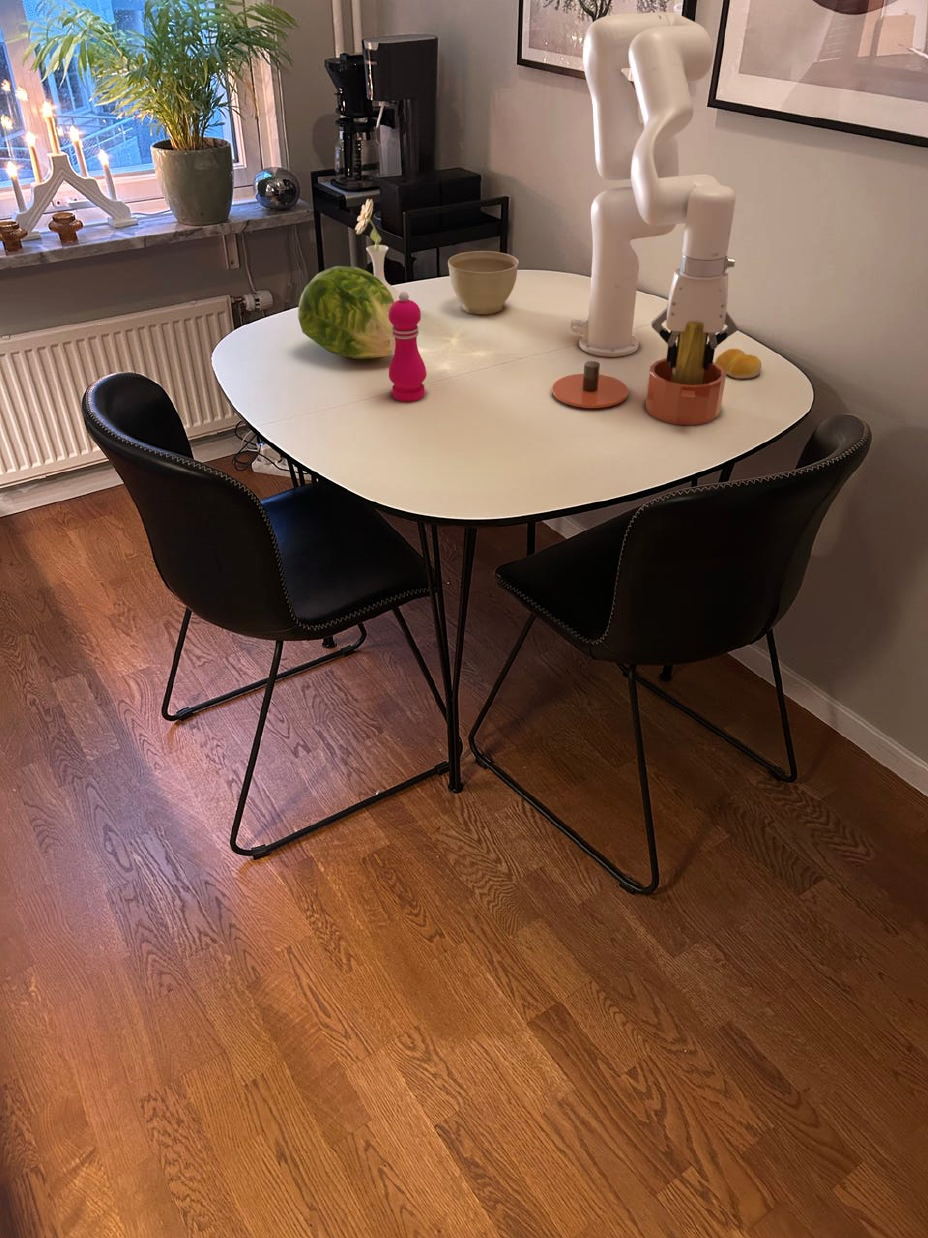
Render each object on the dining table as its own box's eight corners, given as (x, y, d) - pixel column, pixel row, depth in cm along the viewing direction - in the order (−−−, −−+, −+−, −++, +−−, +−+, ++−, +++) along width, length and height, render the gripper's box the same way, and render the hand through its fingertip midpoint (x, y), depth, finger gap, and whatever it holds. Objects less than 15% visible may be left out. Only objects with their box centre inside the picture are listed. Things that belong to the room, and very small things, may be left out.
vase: (681, 402, 170) (692, 326, 161) (661, 390, 174) (670, 315, 166) (708, 396, 172) (720, 319, 163) (687, 384, 176) (697, 309, 168)
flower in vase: (363, 299, 225) (354, 188, 209) (409, 300, 223) (404, 189, 208) (350, 318, 215) (340, 203, 199) (399, 320, 213) (392, 204, 198)
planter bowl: (518, 320, 212) (519, 271, 206) (448, 320, 213) (447, 272, 206) (516, 296, 225) (517, 249, 218) (449, 296, 225) (448, 250, 219)
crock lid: (548, 408, 176) (550, 377, 172) (555, 377, 187) (556, 347, 184) (626, 413, 174) (629, 381, 170) (628, 381, 185) (631, 351, 182)
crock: (645, 429, 169) (649, 390, 164) (646, 385, 184) (650, 349, 179) (721, 433, 167) (728, 394, 162) (716, 389, 182) (722, 352, 177)
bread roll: (744, 383, 184) (748, 364, 181) (708, 369, 189) (711, 351, 187) (769, 372, 188) (773, 353, 186) (732, 359, 193) (736, 340, 191)
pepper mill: (432, 389, 183) (429, 287, 171) (419, 404, 178) (414, 300, 166) (398, 385, 185) (392, 283, 173) (384, 399, 180) (377, 296, 168)
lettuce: (366, 346, 180) (415, 270, 183) (271, 304, 187) (320, 232, 190) (389, 394, 197) (434, 324, 200) (302, 354, 204) (347, 287, 207)
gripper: (752, 259, 161) (735, 360, 172) (652, 256, 163) (641, 355, 174) (756, 273, 155) (738, 376, 166) (651, 269, 157) (640, 371, 168)
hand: (688, 365), depth 170 cm, fingers closed on vase, 5 cm apart
